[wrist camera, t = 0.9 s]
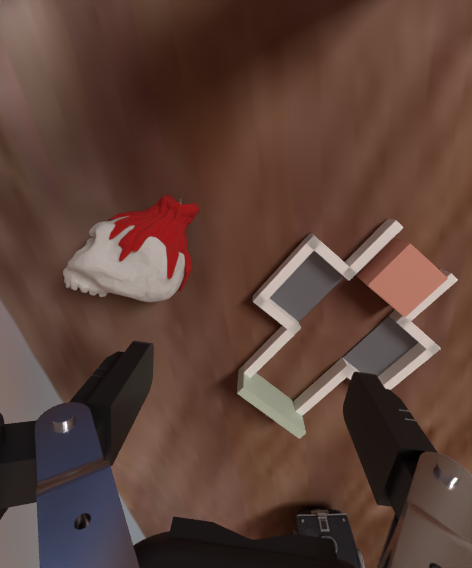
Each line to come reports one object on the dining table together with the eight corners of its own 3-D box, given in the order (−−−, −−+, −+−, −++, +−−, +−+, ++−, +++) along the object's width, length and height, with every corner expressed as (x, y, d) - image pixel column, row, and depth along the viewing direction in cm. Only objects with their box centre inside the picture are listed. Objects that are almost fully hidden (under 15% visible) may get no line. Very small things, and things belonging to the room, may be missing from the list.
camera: (282, 490, 49) (290, 561, 52) (289, 569, 38) (299, 654, 41) (347, 486, 48) (352, 559, 51) (375, 567, 37) (379, 654, 40)
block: (392, 237, 35) (410, 243, 31) (426, 268, 36) (448, 278, 32) (355, 275, 36) (367, 285, 32) (388, 304, 37) (405, 317, 33)
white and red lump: (83, 270, 37) (149, 168, 34) (158, 320, 38) (227, 226, 36) (36, 284, 28) (122, 149, 26) (137, 350, 29) (226, 228, 27)
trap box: (353, 185, 33) (370, 185, 28) (476, 303, 36) (510, 320, 32) (206, 346, 40) (200, 367, 35) (321, 431, 43) (330, 461, 39)
